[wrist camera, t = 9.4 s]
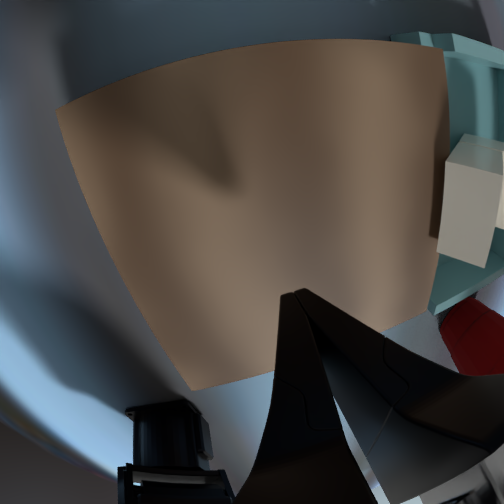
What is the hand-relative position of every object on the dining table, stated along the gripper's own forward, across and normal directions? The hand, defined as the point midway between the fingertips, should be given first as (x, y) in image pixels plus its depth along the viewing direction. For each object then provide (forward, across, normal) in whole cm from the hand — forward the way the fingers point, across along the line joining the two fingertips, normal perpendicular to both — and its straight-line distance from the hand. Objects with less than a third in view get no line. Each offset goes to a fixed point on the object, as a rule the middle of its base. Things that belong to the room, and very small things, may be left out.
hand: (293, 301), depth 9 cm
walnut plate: (+7, -2, 0) cm, 7 cm away
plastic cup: (+7, -21, +18) cm, 29 cm away
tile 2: (+4, -11, 0) cm, 12 cm away
